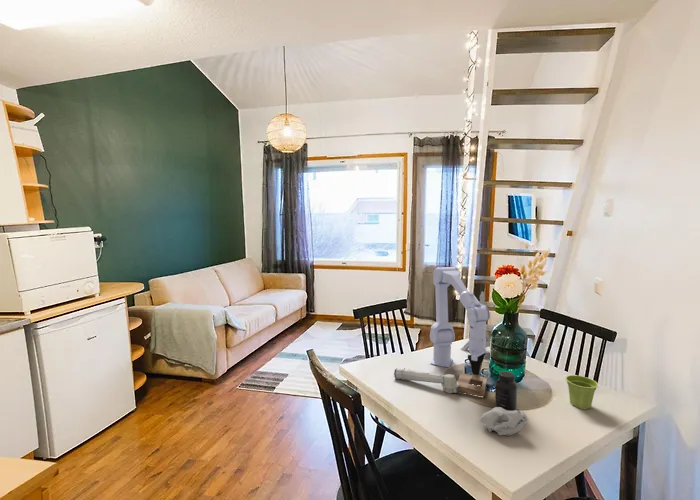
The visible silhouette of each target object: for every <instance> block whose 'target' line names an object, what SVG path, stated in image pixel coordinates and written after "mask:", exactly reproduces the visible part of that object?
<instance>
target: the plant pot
mask: <svg viewBox="0 0 700 500" xmlns="http://www.w3.org/2000/svg"><path fill="white" fill-rule="evenodd" d="M565 381H566V383H567V387H568V395H569V403H570V404H571V405H572V406H575V407H576V408H578V409H581V410H589V409H592V404H593V399H594V395H595V391H596V390H597V388H598V387H599V383H598V382H597V381H596V380H594V379H592V378H589V377H586V376H583V375H577V374H573V375H572V374H570V375H567V376H566V377H565Z"/></svg>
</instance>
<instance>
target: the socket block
mask: <svg viewBox="0 0 700 500" xmlns="http://www.w3.org/2000/svg"><path fill="white" fill-rule="evenodd" d="M456 382H458V383H459V387H458V392H460V393H459V394H463V393H466V394H465V395H467V394H472V395H477V396H483V397H484V398H485V394H486V391H485V388H486V389H487V387H486V382H487V383H488V377H483V376H480V380H473V379H472V374H469V373H463V372H460V374H459V377H458V379H457V380H456ZM472 384H474V385H472ZM481 384H482V386H477V385H481ZM458 392H457V393H458ZM484 393H485V394H484Z"/></svg>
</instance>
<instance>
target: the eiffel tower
mask: <svg viewBox="0 0 700 500" xmlns="http://www.w3.org/2000/svg"><path fill="white" fill-rule="evenodd" d="M485 300H486V295H485V293H484V291H481V293H480V294H479V303H480V304H483V305H485ZM490 339H491V337H490V335H489V332H488V327H486V338H485V349H486V348H488V347H489V348H490ZM468 349H469V340H468V341H467V342H466V343H465V344H464V345H463V346H462V347H461V348H460V350H461V351H462V352H467V351H468V352H469V350H468ZM484 359H486V355H485V356H484Z"/></svg>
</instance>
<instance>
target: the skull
mask: <svg viewBox="0 0 700 500" xmlns="http://www.w3.org/2000/svg"><path fill="white" fill-rule="evenodd" d="M479 421H480V423H481V424H483V425H485V427H486V429H487V430H488V431H489V432H490V433H492V431H493V432H494V431H495V432H496V433H497V435H498V436H503V435H505V436H507V437H509V436H512V435H514V434H515V433H517V432H519V431H520V430H521V429H523V428H524V427H525V425H526V424H527V422H528V418H527V415H526V413H524V412H522V411H520V410H518V409H516V410H514V411H507V410H505V409H503V408H501V407H496V406H494V407H493V408H492V409H491V410H488V411H485V412H484V413H483V414H482V415H480V418H479Z"/></svg>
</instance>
